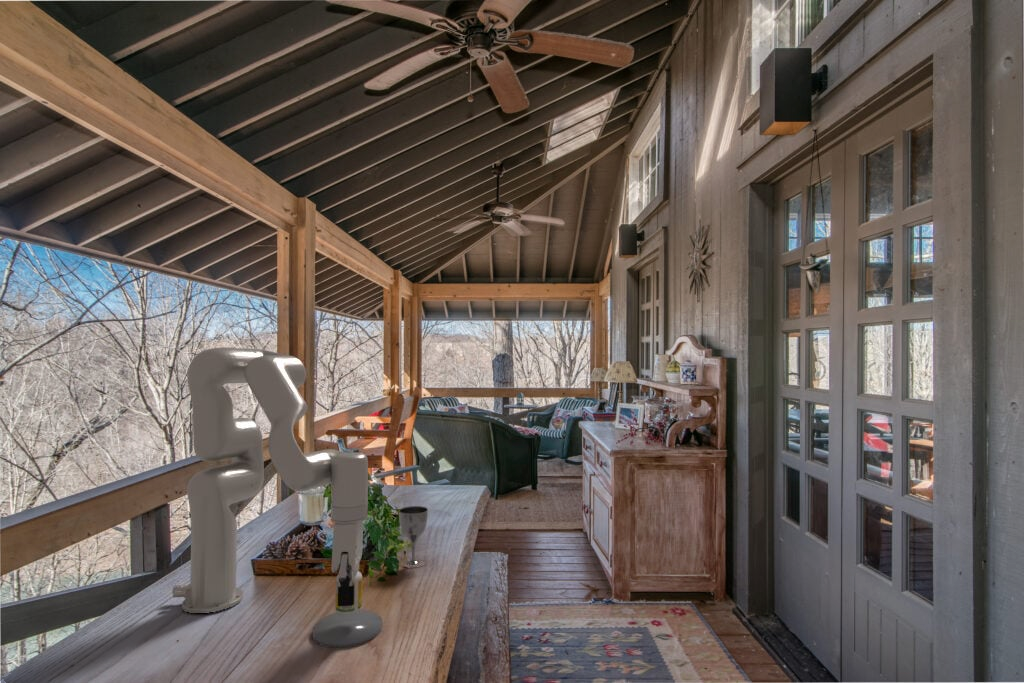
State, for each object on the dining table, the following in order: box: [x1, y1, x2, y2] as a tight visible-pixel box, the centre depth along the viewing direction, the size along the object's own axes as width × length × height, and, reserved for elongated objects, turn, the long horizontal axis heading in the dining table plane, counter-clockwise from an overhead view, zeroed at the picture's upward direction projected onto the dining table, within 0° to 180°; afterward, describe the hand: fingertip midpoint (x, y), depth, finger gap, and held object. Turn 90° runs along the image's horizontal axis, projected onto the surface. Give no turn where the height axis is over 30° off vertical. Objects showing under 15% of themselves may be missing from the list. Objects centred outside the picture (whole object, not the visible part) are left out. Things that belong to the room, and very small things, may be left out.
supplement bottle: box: [335, 563, 363, 615], centre depth 115 cm, size 5×5×10 cm
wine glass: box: [398, 505, 429, 565], centre depth 153 cm, size 8×8×15 cm
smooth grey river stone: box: [312, 609, 383, 649], centre depth 115 cm, size 14×14×1 cm
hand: (348, 598), depth 115 cm, fingers closed on supplement bottle, 5 cm apart
